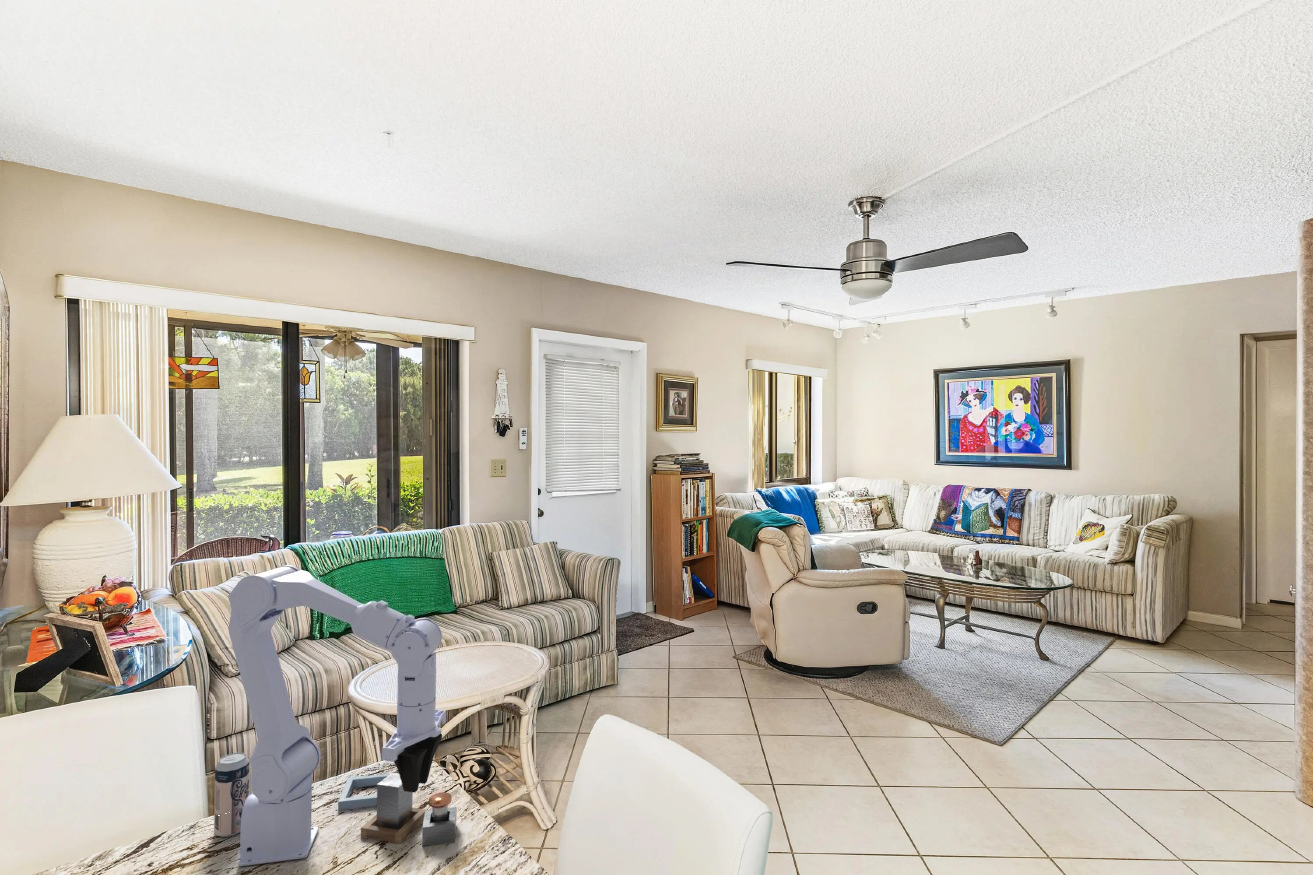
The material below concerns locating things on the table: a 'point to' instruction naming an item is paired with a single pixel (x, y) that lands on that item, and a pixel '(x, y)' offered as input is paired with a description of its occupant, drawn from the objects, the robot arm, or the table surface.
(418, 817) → the walnut socket
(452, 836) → the frame
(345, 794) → the light blue square frame
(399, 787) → the grey metal block
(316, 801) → the table surface
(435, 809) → the plunger
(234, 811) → the beer can
